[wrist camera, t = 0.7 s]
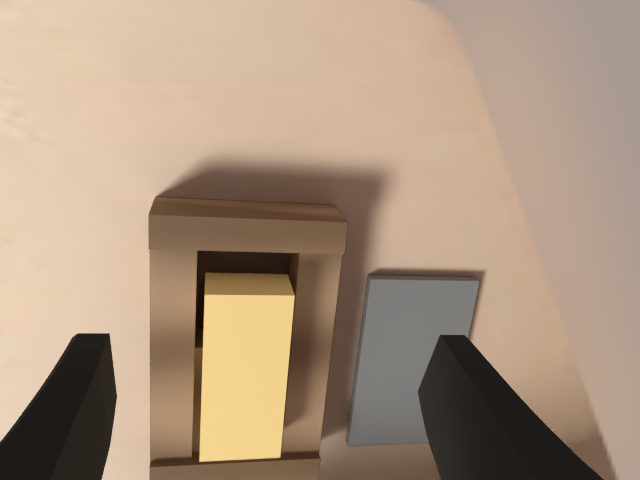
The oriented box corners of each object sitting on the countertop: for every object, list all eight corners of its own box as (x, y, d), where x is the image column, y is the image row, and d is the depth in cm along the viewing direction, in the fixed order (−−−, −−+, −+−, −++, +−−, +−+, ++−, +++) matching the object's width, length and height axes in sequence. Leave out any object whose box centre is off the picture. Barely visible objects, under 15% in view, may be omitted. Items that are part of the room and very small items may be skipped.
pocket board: (308, 445, 33) (317, 481, 31) (155, 452, 32) (149, 492, 29) (334, 205, 29) (348, 222, 26) (155, 197, 27) (148, 215, 24)
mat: (442, 435, 35) (446, 441, 35) (345, 439, 34) (348, 446, 33) (474, 277, 32) (479, 281, 31) (368, 274, 30) (370, 279, 30)
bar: (274, 425, 30) (280, 457, 28) (200, 428, 29) (199, 461, 27) (287, 274, 27) (294, 295, 25) (205, 272, 26) (204, 294, 24)
